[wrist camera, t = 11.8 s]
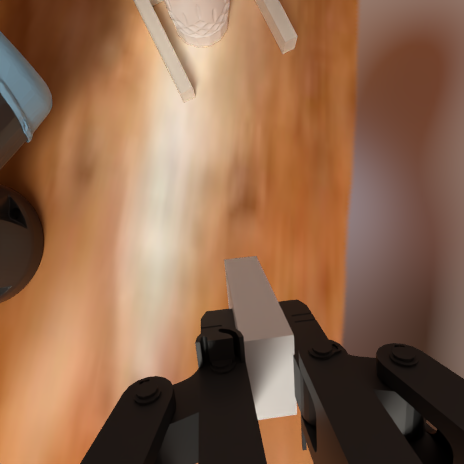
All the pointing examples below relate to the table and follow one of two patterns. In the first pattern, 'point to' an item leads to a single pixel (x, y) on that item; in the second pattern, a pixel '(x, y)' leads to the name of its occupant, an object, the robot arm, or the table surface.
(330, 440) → the robot arm
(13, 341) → the table surface
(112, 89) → the table surface
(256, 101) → the table surface
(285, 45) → the bay
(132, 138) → the table surface
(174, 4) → the white cup
